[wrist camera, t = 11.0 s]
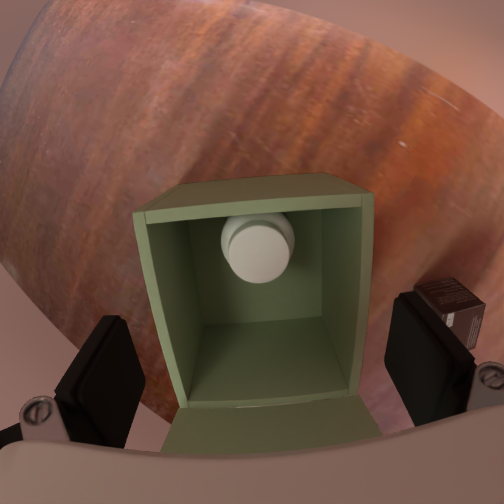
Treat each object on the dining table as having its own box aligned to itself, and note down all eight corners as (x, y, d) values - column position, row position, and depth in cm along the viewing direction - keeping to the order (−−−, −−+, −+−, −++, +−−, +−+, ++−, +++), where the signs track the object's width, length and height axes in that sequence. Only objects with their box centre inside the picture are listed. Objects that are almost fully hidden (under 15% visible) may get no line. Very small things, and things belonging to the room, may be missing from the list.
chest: (176, 184, 29) (131, 212, 17) (326, 172, 29) (374, 193, 17) (199, 327, 34) (180, 408, 23) (326, 317, 34) (357, 394, 22)
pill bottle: (281, 249, 30) (295, 295, 21) (225, 245, 30) (215, 291, 21) (287, 193, 29) (305, 217, 19) (228, 188, 28) (218, 211, 19)
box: (446, 318, 35) (475, 349, 28) (407, 327, 35) (433, 363, 28) (453, 275, 33) (487, 303, 26) (412, 283, 33) (444, 314, 26)
